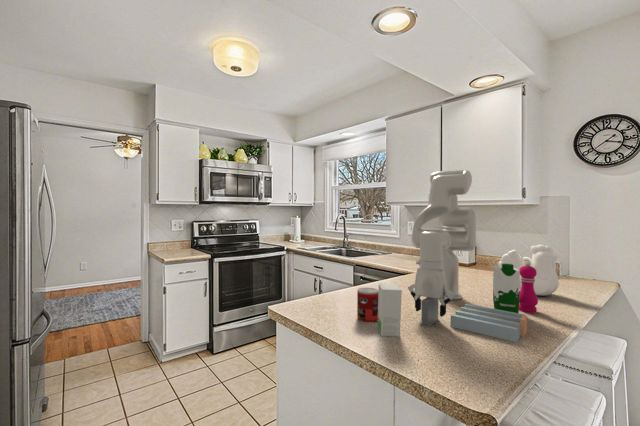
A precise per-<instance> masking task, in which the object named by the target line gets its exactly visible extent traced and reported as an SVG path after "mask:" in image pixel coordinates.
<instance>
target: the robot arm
mask: <svg viewBox="0 0 640 426" xmlns="http://www.w3.org/2000/svg"><path fill="white" fill-rule="evenodd" d="M429 182H430V188H429V189H430V190H429V195H428V202H427V207H424V209H423V210H422V211H420V213H419V214H418V215H417V216H416V218H415V220H414V222H413V225H412V226H413V227H412V233H411V244H412V246H413V247H415V248H416V249H419V260H416V262H415V263H416V265H418V266H419V267H418V268H416V274H415V281H414V283H413V284H411V285H410V286H408V287H407V290H408V291H409V293H410V295H411V296H412V297H413V300H414V309H415V311H416V312H419V311H421V310H422V299H421V297H424V298H427V297H428V298H434V299H438V302H440V305H439V317H441V318H442V317H444V316H445V315H446V314H447V305H448V304H449V303H450V302H451V301H452V300H454V301H455V300H461V299H462V298H463V294H461V293H460V292H459V279H460V278H459V271H460V270H459V269H460V268H459V267H460V263H459V261H460V260H459V258H458V256H457V255H456V253H455V252H458V251H459V252H473V251H474V250H475V249H476V245H477V236H476V235H477V227H476V226H477V221H476V213H475V211H474V209H473V208H472V207H465V206H464V207H462V206H461V207H459V206H458V195H459V196H463V195H466V194H467V193H468V192H469V190H470V188H471V187H472V182H473V176H472V173H471V172H470V171H469V170H468V169H467V170H466V169H465V170H464V169H461V170H460V169H459V170H457V169H456V170H440V171H435V172H433V173H431V174H430V176H429ZM436 218H438V219H437V220H438V224H439V225H440V226H441V227H442V228H449V229H424V228H423V227H424V226H425V224H426V223H428V222H430V221H432V220H434V219H436ZM450 228H451V230H450ZM452 228H455V229H454V230H453V229H452ZM456 229H463V230H456Z"/></svg>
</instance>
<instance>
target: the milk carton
mask: <svg viewBox="0 0 640 426" xmlns="http://www.w3.org/2000/svg"><path fill="white" fill-rule="evenodd" d="M492 274H493V275H492V277H493V278H492V280H493V281H492V299H493V300H492V301H493V302H492V303H493V309H498V310H503V311H509V312H514V313H519V314H520V310H519V304H520V303H519V296H520V271H519V270H517V269H515V268H514V265H513V264H502V267H499V266H493V273H492Z"/></svg>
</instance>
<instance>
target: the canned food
mask: <svg viewBox="0 0 640 426" xmlns="http://www.w3.org/2000/svg"><path fill="white" fill-rule="evenodd" d="M378 293H379V289H378V288H375V287H360V288H357V298H356V299H357V300H356V301H357V302H356V305H357V307H356V308H357V311H356V312H357V314H356V315H357V316H356V317H357V320H358V321H361V322H364V323H376V322H378Z"/></svg>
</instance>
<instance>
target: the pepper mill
mask: <svg viewBox="0 0 640 426" xmlns="http://www.w3.org/2000/svg"><path fill="white" fill-rule="evenodd" d="M524 263H525V265H526V266H522V267H521V268H520V269H519V271H520V275H521V277H520V278H521V281H522V287H521V290H520V296H519V312H523V313H528V314H535V313H537V310H538V309H537V307H536V306H537V305H538V303H539V298H538V295H536V294H535V291H534V282H535V278H534V277H535V276H536V274H537V272H536V270H535V268H533V267H531V266H530V263H529V262H528V261H527V262H524Z"/></svg>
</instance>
